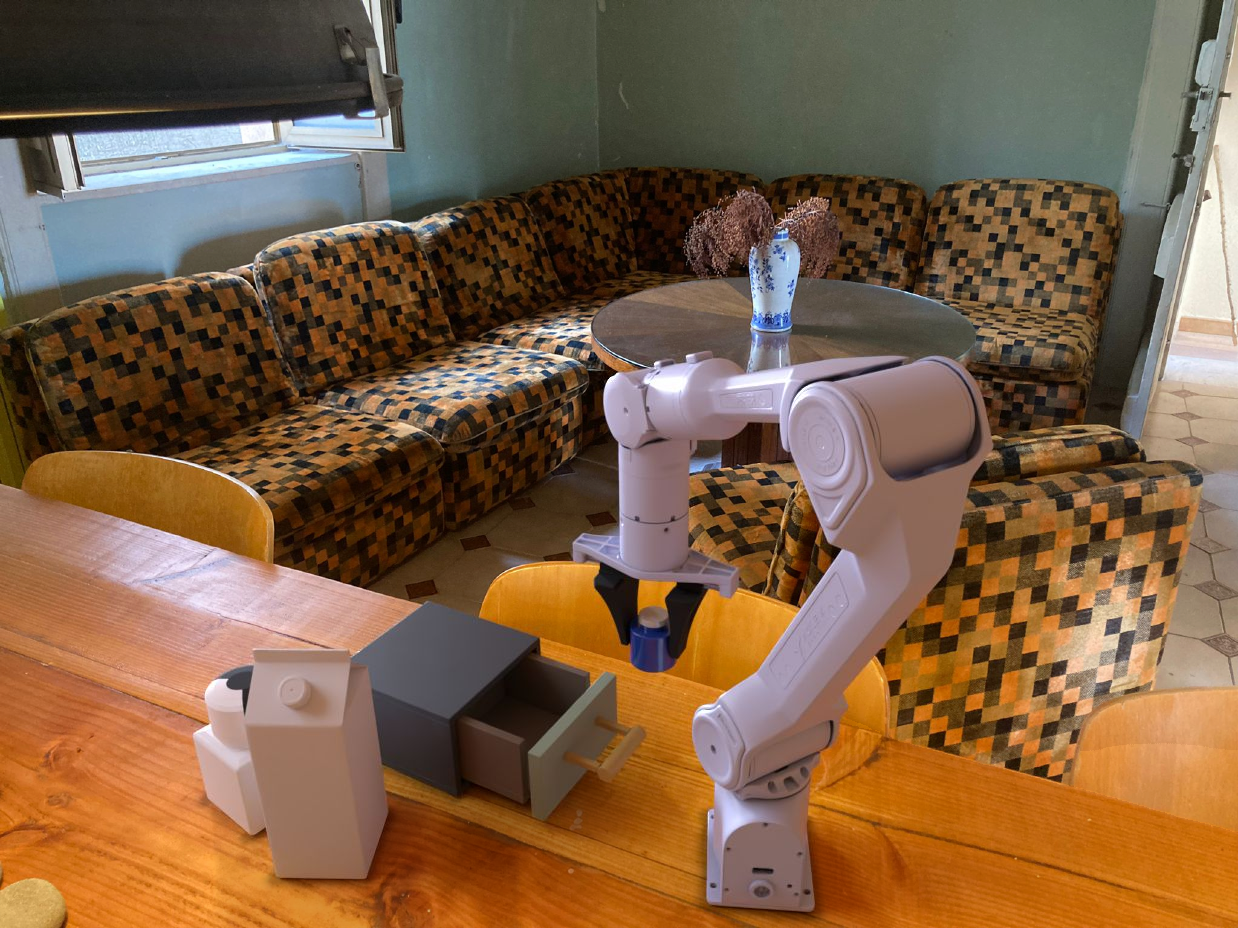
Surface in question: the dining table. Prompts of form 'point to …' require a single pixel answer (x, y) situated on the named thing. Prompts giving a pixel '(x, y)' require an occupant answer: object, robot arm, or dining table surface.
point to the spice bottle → (651, 640)
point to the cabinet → (435, 686)
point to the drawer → (543, 733)
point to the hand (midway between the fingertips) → (653, 645)
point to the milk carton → (316, 761)
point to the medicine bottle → (229, 750)
